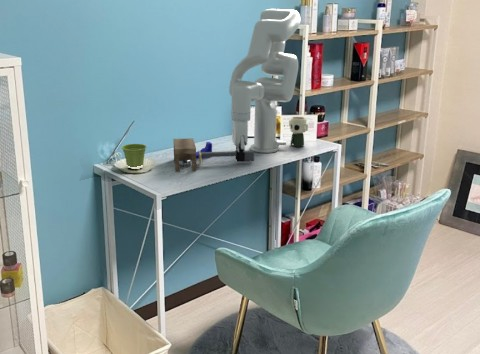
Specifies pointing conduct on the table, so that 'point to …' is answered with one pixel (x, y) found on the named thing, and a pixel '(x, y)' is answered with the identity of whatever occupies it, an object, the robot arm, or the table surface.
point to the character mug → (298, 130)
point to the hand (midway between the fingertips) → (240, 160)
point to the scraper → (248, 155)
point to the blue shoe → (205, 149)
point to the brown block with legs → (184, 152)
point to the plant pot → (134, 154)
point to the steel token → (184, 162)
